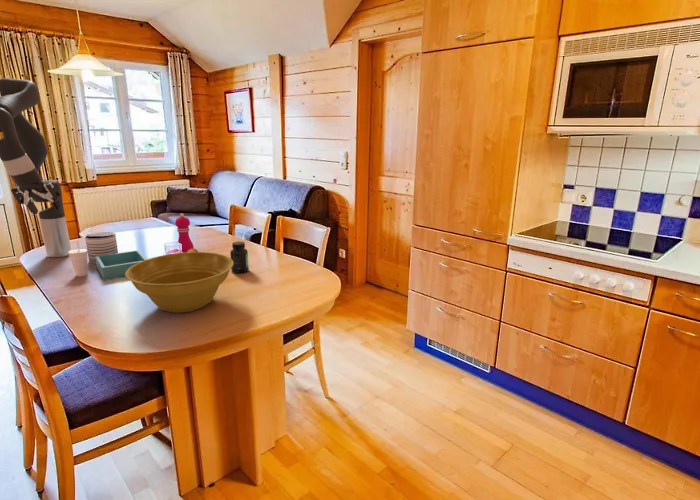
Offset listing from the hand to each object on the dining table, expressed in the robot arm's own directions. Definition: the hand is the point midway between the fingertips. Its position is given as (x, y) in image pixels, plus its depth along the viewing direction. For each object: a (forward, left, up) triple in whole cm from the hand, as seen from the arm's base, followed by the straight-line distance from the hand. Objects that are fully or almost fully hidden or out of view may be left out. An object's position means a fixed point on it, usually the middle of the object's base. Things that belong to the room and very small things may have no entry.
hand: (47, 211), depth 148 cm
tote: (0, +21, -26) cm, 34 cm away
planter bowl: (+49, +31, -27) cm, 64 cm away
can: (-20, +17, -27) cm, 37 cm away
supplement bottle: (+28, +59, -26) cm, 71 cm away
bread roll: (+16, +44, -27) cm, 54 cm away
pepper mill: (-4, +47, -26) cm, 54 cm away
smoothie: (-3, +7, -26) cm, 27 cm away
